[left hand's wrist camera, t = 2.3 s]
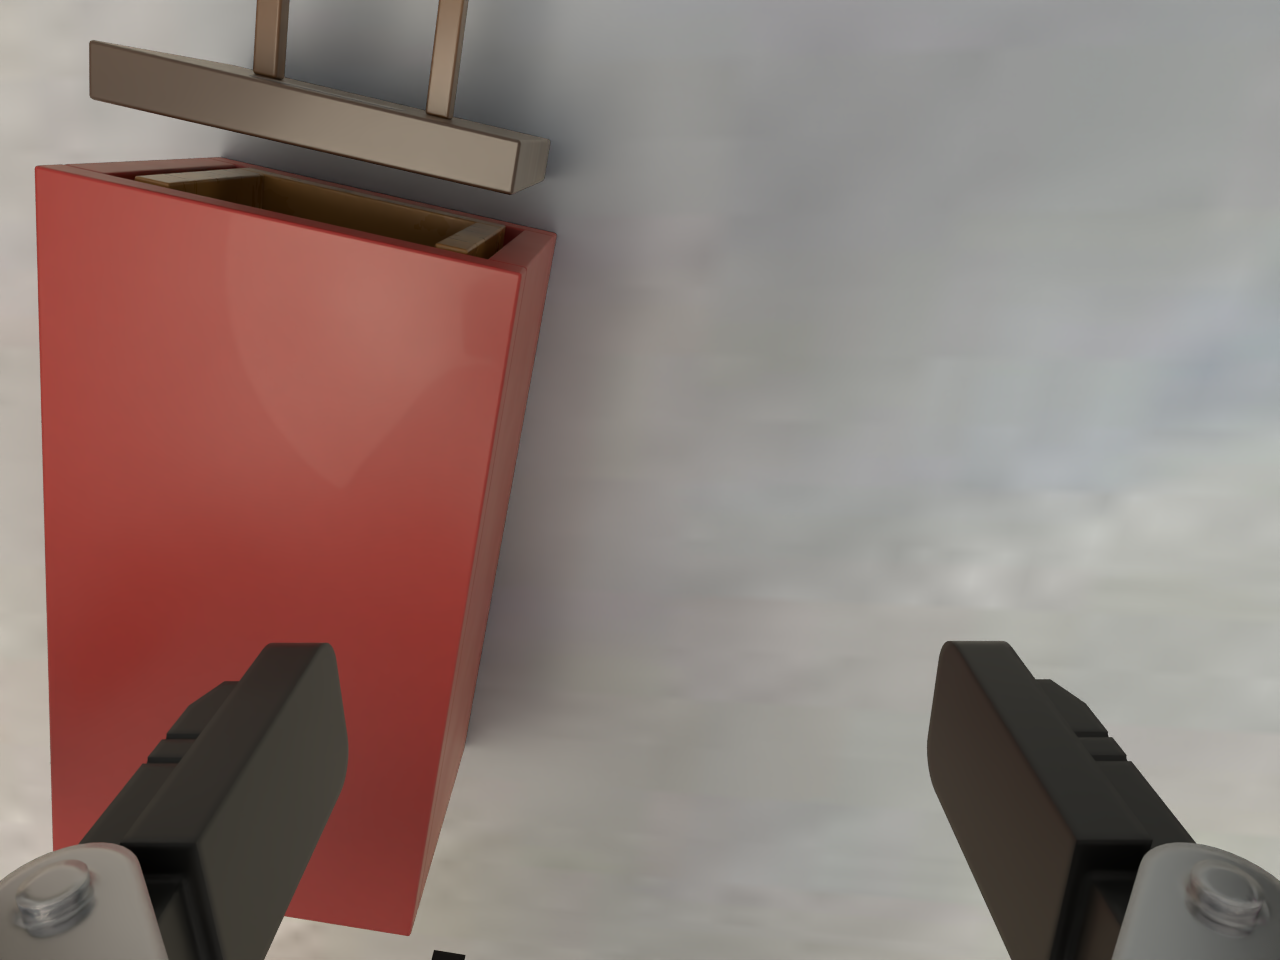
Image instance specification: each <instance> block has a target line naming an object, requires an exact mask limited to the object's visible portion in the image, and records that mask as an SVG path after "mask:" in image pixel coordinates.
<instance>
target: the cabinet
mask: <svg viewBox="0 0 1280 960" xmlns="http://www.w3.org/2000/svg"><path fill="white" fill-rule="evenodd" d="M249 167H250V168H254V169H258V170H263V171H267V172H272V173H276V174H281V175H285V176H289V177H294V178H298V179H303V180H307V181H312V182H316V183H320V184H325V185H329V186H334V187H338V188H343V189H347V190H351V191H356V192H360V193H365V194H369V195H374V196H378V197H382V198H387V199H391V200H396V201H400V202H404V203H409V204H413V205H418V206H422V207H427V208H431V209H435V210H440V211H444V212H449V213H453V214H458V215H462V216H466V217H471V218H475V219H480V220H484V221H489V222H493V223H497V224H502V225H505V226H506V230H505V236H504V242H503V248H502V249H500V250H499V251H498V252H497V253H495V254H494V255H493V256H492V257H490V258H489V259H484V258H479V257H475V256H470V255H466V254H461V253H457V252H452V251H448V250H443V249H439V248H434V247H430V246H425V245H421V244H416V243H412V242H408V241H403V240H399V239H394V238H390V237H385V236H381V235H376V234H372V233H367V232H363V231H358V230H354V229H349V228H345V227H340V226H336V225H331V224H327V223H322V222H318V221H313V220H309V219H304V218H300V217H295V216H291V215H286V214H282V213H277V212H273V211H268V210H264V209H259V208H255V207H250V206H246V205H241V204H237V203H232V202H228V201H223V200H219V199H214V198H210V197H205V196H201V195H196V194H192V193H187V192H183V191H178V190H174V189H169V188H165V187H160V186H156V185H151V184H147V183H142V182H138V181H135V177H136V176H145V175H158V174H171V173H184V172H197V171H210V170H224V169H237V168H249ZM35 194H36V231H37V268H38V305H39V342H40V380H41V417H42V454H43V491H44V528H45V566H46V603H47V640H48V677H49V714H50V751H51V789H52V826H53V851H56V850H59V849H62V848H65V847H69V846H73V845H78V844H79V842H80V841H81V840H82V839H83V837H84V836H85V835H86V834H87V832H88V831H89V830H90V829H91V827H92V826H93V825H94V824H95V822H96V821H97V820H98V819H99V817H100V816H101V815H102V814H103V812H104V811H105V810H106V809H107V807H108V806H109V805H110V804H111V802H112V801H113V800H114V799H115V797H116V796H117V795H118V794H119V792H120V791H121V790H122V789H123V787H124V786H125V785H126V784H127V782H128V781H129V780H130V779H131V777H132V776H133V775H134V774H135V772H136V771H137V770H138V768H139V767H140V766H141V765H142V763H147V760H148V758H147V757H148V756H149V755H150V753H151V752H152V751H153V750H154V748H155V747H156V746H157V745H158V743H159V742H160V741H161V740H162V739H166V733H167V732H168V731H169V730H170V728H171V727H172V726H173V725H174V723H175V722H176V721H177V720H178V718H179V717H180V716H181V715H182V713H183V712H184V711H185V710H186V708H187V707H188V706H189V705H190V704H192V703H193V702H195V701H196V700H197V699H199V698H200V697H202V696H203V695H205V694H206V693H208V692H209V691H211V690H212V689H214V688H215V687H217V686H218V685H219V684H221V683H222V682H224V681H240V679H241V678H242V677H243V675H244V674H245V673H246V671H247V670H248V669H249V667H250V666H251V665H252V663H253V662H254V660H255V659H256V658H257V656H258V655H259V654H260V652H261V651H262V650H263V648H264V647H265V646H266V645H268V644H269V643H329V644H330V645H331V646H332V647H333V649H334V652H335V655H336V660H337V667H338V674H339V681H340V688H341V695H342V701H343V708H344V715H345V722H346V729H347V736H348V749H349V751H348V766H347V772H346V777H345V781H344V785H343V788H342V790H341V793H340V795H339V797H338V799H337V802H336V804H335V806H334V808H333V810H332V813H331V815H330V817H329V819H328V821H327V823H326V826H325V828H324V830H323V832H322V834H321V836H320V839H319V841H318V843H317V845H316V847H315V850H314V852H313V854H312V856H311V858H310V860H309V863H308V865H307V867H306V869H305V871H304V874H303V876H302V878H301V880H300V882H299V884H298V887H297V889H296V891H295V893H294V895H293V898H292V900H291V902H290V904H289V906H288V908H287V911H286V913H285V915H284V916H287V917H293V918H299V919H306V920H312V921H318V922H324V923H330V924H337V925H343V926H349V927H355V928H361V929H368V930H374V931H380V932H386V933H392V934H399V935H405V936H409V935H410V934H411V931H412V928H413V924H414V921H415V917H416V914H417V910H418V907H419V904H420V900H421V897H422V893H423V890H424V886H425V883H426V879H427V876H428V872H429V869H430V866H431V862H432V859H433V855H434V852H435V848H436V845H437V841H438V838H439V834H440V831H441V827H442V824H443V820H444V817H445V814H446V810H447V807H448V803H449V800H450V796H451V793H452V789H453V786H454V782H455V779H456V775H457V772H458V768H459V765H460V761H461V758H462V754H463V751H464V747H465V741H466V736H467V730H468V725H469V719H470V714H471V708H472V703H473V697H474V692H475V686H476V680H477V675H478V669H479V664H480V658H481V653H482V647H483V642H484V636H485V631H486V625H487V620H488V614H489V608H490V603H491V597H492V592H493V586H494V581H495V575H496V570H497V564H498V559H499V553H500V547H501V542H502V536H503V531H504V525H505V520H506V514H507V509H508V503H509V498H510V492H511V487H512V481H513V475H514V470H515V464H516V459H517V453H518V448H519V442H520V437H521V431H522V426H523V420H524V414H525V409H526V403H527V398H528V392H529V387H530V381H531V376H532V370H533V365H534V359H535V353H536V348H537V342H538V337H539V331H540V326H541V320H542V315H543V309H544V304H545V298H546V293H547V287H548V281H549V276H550V270H551V265H552V259H553V254H554V248H555V243H556V237H557V235H556V233H553V232H549V231H544V230H540V229H535V228H531V227H526V226H522V225H518V224H513V223H509V222H504V221H500V220H496V219H491V218H487V217H482V216H478V215H473V214H469V213H465V212H460V211H456V210H451V209H447V208H443V207H438V206H434V205H429V204H425V203H420V202H416V201H412V200H407V199H403V198H398V197H394V196H389V195H385V194H381V193H376V192H372V191H367V190H363V189H359V188H354V187H350V186H345V185H341V184H336V183H332V182H328V181H323V180H319V179H314V178H310V177H306V176H301V175H297V174H292V173H288V172H283V171H279V170H275V169H270V168H266V167H261V166H257V165H253V164H248V163H244V162H239V161H235V160H230V159H226V158H222V157H214V158H194V159H172V160H151V161H129V162H107V163H86V164H66V165H40V166H36V167H35Z"/></svg>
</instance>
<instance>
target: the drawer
mask: <svg viewBox="0 0 1280 960" xmlns="http://www.w3.org/2000/svg"><path fill="white" fill-rule="evenodd" d="M467 8H468V0H439V5H438V13H437V21H436V30H435V38H434V46H433V54H432V62H431V71H430V79H429V87H428V95H427V103H426V110H422V109H418V108H413V107H409V106H405V105H400V104H396V103H392V102H388V101H383V100H379V99H375V98H371V97H366V96H362V95H358V94H354V93H349V92H345V91H341V90H337V89H332V88H328V87H324V86H319V85H315V84H311V83H307V82H302V81H298V80H294V79H290V78H285V77H284V74H285V59H286V45H287V30H288V15H289V0H257V9H256V27H255V45H254V63H253V70H251V69H247V68H243V67H238V66H234V65H230V64H224V63H218V62H213V61H207V60H202V59H196V58H190V57H185V56H179V55H174V54H168V53H162V52H157V51H151V50H146V49H140V48H134V47H129V46H123V45H118V44H112V43H106V42H101V41H95V40H92V41H90V43H89V81H90V98H92V99H94V100H98V101H102V102H106V103H111V104H115V105H119V106H124V107H128V108H133V109H137V110H141V111H146V112H150V113H154V114H159V115H163V116H167V117H172V118H176V119H181V120H185V121H189V122H194V123H198V124H202V125H207V126H211V127H216V128H220V129H224V130H229V131H233V132H237V133H242V134H246V135H251V136H255V137H259V138H264V139H268V140H272V141H277V142H281V143H285V144H290V145H294V146H299V147H303V148H307V149H312V150H316V151H320V152H325V153H329V154H334V155H338V156H342V157H347V158H351V159H355V160H360V161H364V162H369V163H373V164H377V165H382V166H386V167H390V168H395V169H399V170H403V171H408V172H412V173H417V174H421V175H425V176H430V177H434V178H438V179H443V180H447V181H452V182H456V183H460V184H465V185H469V186H473V187H478V188H482V189H487V190H491V191H495V192H500V193H504V194H508V195H511V194H514V193H516V192H519V191H521V190H523V189H526V188H528V187H530V186H532V185H535V184H537V183H539V182H541V181H543V180H544V177H545V171H546V165H547V160H548V154H549V148H550V140H549V139H545V138H541V137H537V136H533V135H528V134H524V133H520V132H516V131H511V130H507V129H503V128H498V127H494V126H490V125H486V124H481V123H477V122H473V121H469V120H464V119H460V118H456V117H453V113H454V106H455V98H456V91H457V83H458V75H459V68H460V60H461V53H462V45H463V38H464V30H465V23H466V15H467ZM135 181H138V182H142V183H147V184H151V185H156V186H160V187H165V188H169V189H174V190H178V191H183V192H187V193H192V194H196V195H201V196H205V197H210V198H214V199H219V200H223V201H228V202H232V203H237V204H241V205H246V206H250V207H255V208H259V209H264V210H268V211H273V212H277V213H282V214H286V215H291V216H295V217H300V218H304V219H309V220H313V221H318V222H322V223H327V224H331V225H336V226H340V227H345V228H349V229H354V230H358V231H363V232H367V233H372V234H376V235H381V236H385V237H390V238H394V239H399V240H403V241H408V242H412V243H416V244H421V245H425V246H430V247H434V248H439V249H443V250H448V251H452V252H457V253H461V254H466V255H470V256H475V257H479V258H484V259H489V258H490V257H492V256H493V255H494V254H495V253H497V252H498V251H499V250H500V249H502V248H503V242H504V236H505V230H506V226H505V225H502V224H497V223H493V222H489V221H484V220H480V219H475V218H471V217H466V216H462V215H458V214H453V213H449V212H444V211H440V210H435V209H431V208H427V207H422V206H418V205H413V204H409V203H404V202H400V201H396V200H391V199H387V198H382V197H378V196H374V195H369V194H365V193H360V192H356V191H351V190H347V189H343V188H338V187H334V186H329V185H325V184H320V183H316V182H312V181H307V180H303V179H298V178H294V177H289V176H285V175H281V174H276V173H272V172H267V171H263V170H258V169H254V168H250V167H249V168H237V169H224V170H210V171H197V172H184V173H171V174H158V175H145V176H136V177H135Z"/></svg>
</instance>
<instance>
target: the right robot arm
mask: <svg viewBox="0 0 1280 960" xmlns="http://www.w3.org/2000/svg"><path fill="white" fill-rule="evenodd" d="M432 960H465V955H462V954H456V953H449V952H443V951H437V950H434V952H433V956H432Z"/></svg>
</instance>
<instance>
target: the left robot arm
mask: <svg viewBox="0 0 1280 960" xmlns="http://www.w3.org/2000/svg"><path fill="white" fill-rule="evenodd" d="M348 751H349V749H348V736H347V729H346V722H345V715H344V708H343V701H342V695H341V688H340V681H339V674H338V667H337V660H336V655H335V652H334V649H333V647H332V646H331V645H330V644H329V643H269V644H268V645H266V646H265V647H264V648H263V650H262V651H261V652H260V654H259V655H258V656H257V658H256V659H255V660H254V662H253V663H252V665H251V666H250V667H249V669H248V670H247V671H246V673H245V674H244V675H243V677H242V678H241V679H240V681H224V682H222V683H221V684H219V685H218V686H217V687H215V688H214V689H212V690H211V691H209V692H208V693H206V694H205V695H203V696H202V697H200V698H199V699H197V700H196V701H195V702H193V703H192V704H190V705H189V706H188V707H187V708H186V710H185V711H184V712H183V713H182V715H181V716H180V717H179V718H178V720H177V721H176V722H175V723H174V725H173V726H172V727H171V728H170V730H169V731H168V732H167V733H166V739H162V740H161V741H160V742H159V743H158V745H157V746H156V747H155V748H154V750H153V751H152V752H151V753H150V755H149V756H148V757H147V758H148V760H147V763H142V765H141V766H140V767H139V768H138V770H137V771H136V772H135V774H134V775H133V776H132V777H131V779H130V780H129V781H128V782H127V784H126V785H125V786H124V787H123V789H122V790H121V791H120V792H119V794H118V795H117V796H116V797H115V799H114V800H113V801H112V802H111V804H110V805H109V806H108V807H107V809H106V810H105V811H104V812H103V814H102V815H101V816H100V817H99V819H98V820H97V821H96V822H95V824H94V825H93V826H92V827H91V829H90V830H89V831H88V832H87V834H86V835H85V836H84V837H83V839H82V840H81V841H80V842H79V844H78V845H73V846H69V847H65V848H62V849H59V850H56V851H53V852H50V853H48V854H45V855H43V856H41V857H38V858H36V859H34V860H32V861H30V862H28V863H27V864H25V865H23V866H21V867H19V868H18V869H16V870H15V871H13V872H12V873H10V874H9V875H7V876H6V877H5V878H4V879H2V880H1V881H0V960H264V959H265V956H266V954H267V952H268V950H269V948H270V945H271V943H272V941H273V939H274V937H275V935H276V932H277V930H278V928H279V926H280V924H281V922H282V919H283V917H284V915H285V913H286V911H287V908H288V906H289V904H290V902H291V900H292V898H293V895H294V893H295V891H296V889H297V887H298V884H299V882H300V880H301V878H302V876H303V874H304V871H305V869H306V867H307V865H308V863H309V860H310V858H311V856H312V854H313V852H314V850H315V847H316V845H317V843H318V841H319V839H320V836H321V834H322V832H323V830H324V828H325V826H326V823H327V821H328V819H329V817H330V815H331V813H332V810H333V808H334V806H335V804H336V802H337V799H338V797H339V795H340V793H341V790H342V788H343V785H344V781H345V777H346V772H347V766H348ZM927 757H928V767H929V772H930V777H931V781H932V784H933V787H934V790H935V792H936V794H937V796H938V799H939V801H940V803H941V805H942V808H943V810H944V812H945V814H946V816H947V819H948V821H949V823H950V825H951V827H952V830H953V832H954V834H955V836H956V838H957V841H958V843H959V845H960V847H961V849H962V852H963V854H964V856H965V858H966V860H967V863H968V865H969V867H970V869H971V872H972V874H973V876H974V878H975V880H976V883H977V885H978V887H979V889H980V891H981V894H982V896H983V898H984V900H985V902H986V905H987V907H988V909H989V911H990V913H991V916H992V918H993V920H994V922H995V924H996V927H997V929H998V931H999V933H1000V936H1001V938H1002V940H1003V942H1004V944H1005V947H1006V949H1007V951H1008V953H1009V955H1010V958H1011V960H1280V881H1279V880H1278V879H1276V878H1275V877H1274V876H1273V875H1271V874H1270V873H1268V872H1267V871H1265V870H1264V869H1262V868H1261V867H1259V866H1257V865H1255V864H1253V863H1252V862H1250V861H1248V860H1246V859H1244V858H1242V857H1239V856H1237V855H1235V854H1232V853H1230V852H1227V851H1224V850H1221V849H1218V848H1215V847H1211V846H1207V845H1202V844H1196V842H1195V841H1194V840H1193V839H1192V837H1191V836H1190V835H1189V834H1188V832H1187V831H1186V830H1185V829H1184V827H1183V826H1182V825H1181V824H1180V822H1179V821H1178V820H1177V818H1176V817H1175V816H1174V815H1173V813H1172V812H1171V811H1170V810H1169V808H1168V807H1167V806H1166V805H1165V803H1164V802H1163V801H1162V799H1161V798H1160V797H1159V796H1158V794H1157V793H1156V792H1155V791H1154V789H1153V788H1152V787H1151V786H1150V784H1149V783H1148V782H1147V781H1146V779H1145V778H1144V777H1143V775H1142V774H1141V773H1140V772H1139V770H1138V769H1137V768H1136V767H1135V765H1134V764H1133V763H1132V762H1131V761H1127V759H1126V754H1125V753H1124V751H1123V750H1122V749H1121V748H1120V746H1119V745H1118V744H1117V743H1116V741H1115V740H1114V739H1113V738H1112V737H1108V731H1107V730H1106V729H1105V727H1104V726H1103V725H1102V724H1101V722H1100V721H1099V720H1098V719H1097V717H1096V716H1095V715H1094V713H1093V712H1092V711H1091V710H1090V708H1089V707H1088V706H1087V705H1086V703H1084V702H1083V701H1081V700H1080V699H1078V698H1077V697H1075V696H1074V695H1072V694H1071V693H1069V692H1068V691H1067V690H1065V689H1064V688H1062V687H1061V686H1059V685H1058V684H1056V683H1055V682H1053V681H1052V680H1051V679H1035V678H1034V677H1033V675H1032V674H1031V673H1030V671H1029V670H1028V669H1027V667H1026V666H1025V665H1024V663H1023V662H1022V660H1021V659H1020V658H1019V656H1018V655H1017V654H1016V652H1015V651H1014V650H1013V648H1012V647H1011V646H1010V645H1009V644H1008V643H1007V642H1005V641H947V642H946V643H944V645H943V647H942V649H941V652H940V656H939V662H938V669H937V676H936V683H935V690H934V697H933V704H932V711H931V718H930V725H929V732H928V740H927Z"/></svg>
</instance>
